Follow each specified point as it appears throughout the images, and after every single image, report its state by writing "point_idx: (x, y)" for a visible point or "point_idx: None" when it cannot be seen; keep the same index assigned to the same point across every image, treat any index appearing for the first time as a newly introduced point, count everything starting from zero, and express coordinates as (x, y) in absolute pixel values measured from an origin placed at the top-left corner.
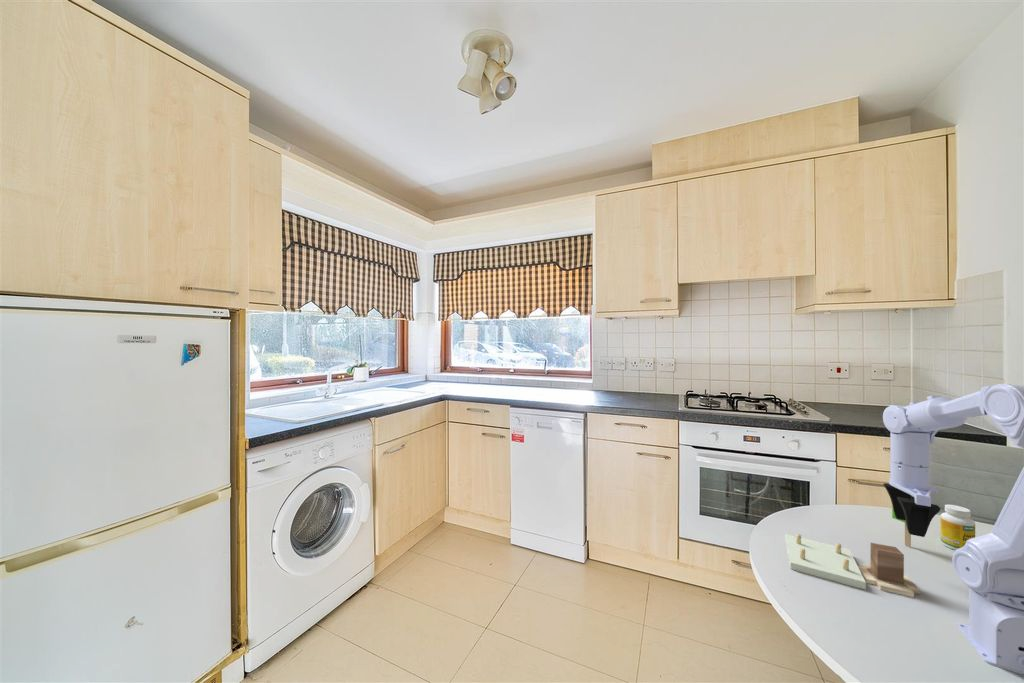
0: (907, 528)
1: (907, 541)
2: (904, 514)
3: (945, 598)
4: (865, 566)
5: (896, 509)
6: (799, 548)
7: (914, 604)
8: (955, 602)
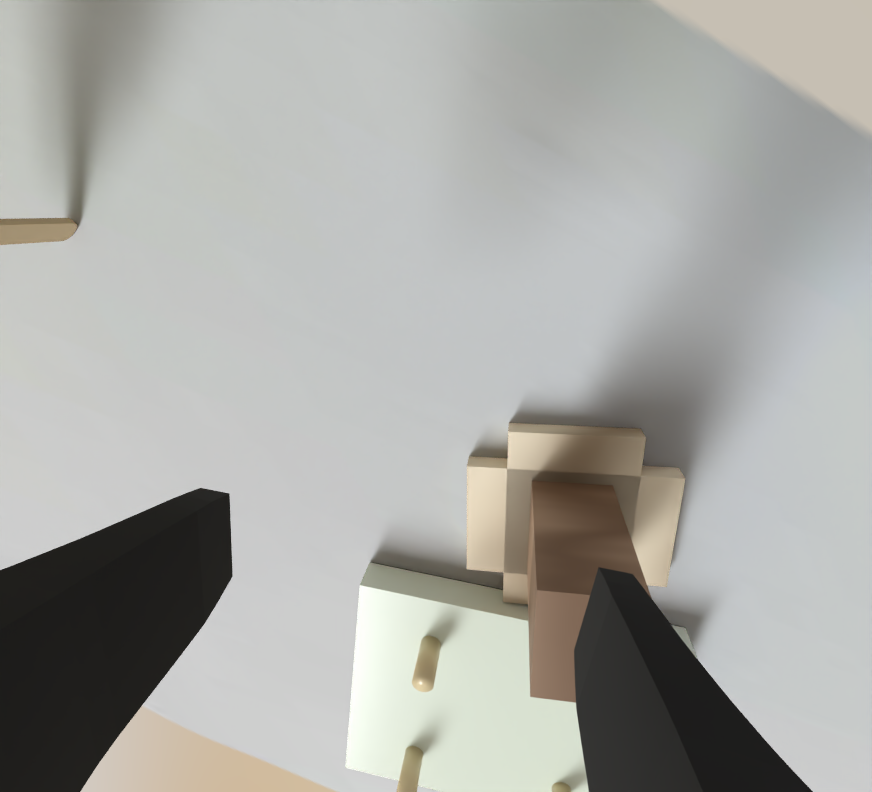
0: (580, 700)
1: (47, 232)
2: (190, 574)
3: (637, 328)
4: (490, 567)
5: (165, 662)
6: (466, 766)
7: (748, 496)
8: (662, 299)
